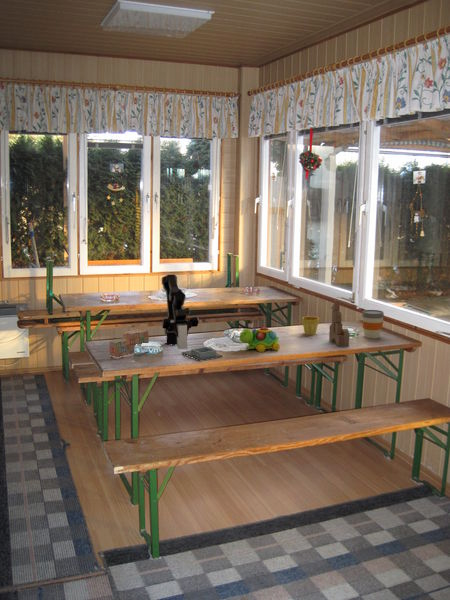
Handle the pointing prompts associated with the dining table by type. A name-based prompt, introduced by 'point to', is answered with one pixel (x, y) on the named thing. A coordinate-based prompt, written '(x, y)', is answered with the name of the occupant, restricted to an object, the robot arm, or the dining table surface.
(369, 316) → the reusable coffee cup
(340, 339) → the wooden toy
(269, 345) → the turtle toy
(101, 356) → the dining table surface
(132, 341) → the stack of blocks
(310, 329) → the plant pot
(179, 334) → the light grey rectangular block
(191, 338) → the dining table surface
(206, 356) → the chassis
